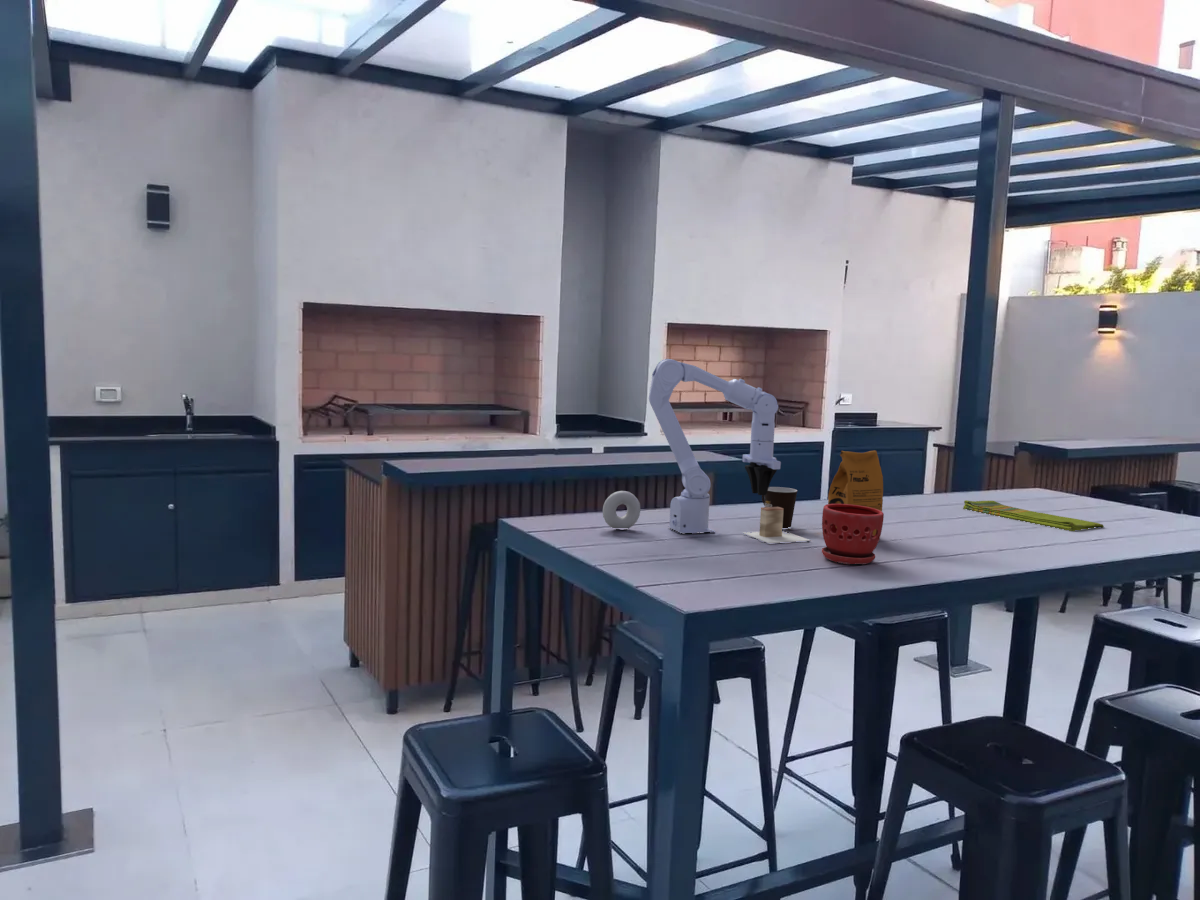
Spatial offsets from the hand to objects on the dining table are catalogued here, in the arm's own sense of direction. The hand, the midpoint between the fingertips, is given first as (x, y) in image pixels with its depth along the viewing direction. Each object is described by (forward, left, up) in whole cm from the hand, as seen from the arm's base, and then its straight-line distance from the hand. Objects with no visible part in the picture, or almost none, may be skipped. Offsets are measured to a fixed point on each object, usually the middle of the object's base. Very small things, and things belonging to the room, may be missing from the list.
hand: (759, 494), depth 232 cm
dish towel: (+92, -1, -11) cm, 93 cm away
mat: (+1, -7, -10) cm, 12 cm away
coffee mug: (+10, +6, -10) cm, 15 cm away
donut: (-33, +11, -10) cm, 36 cm away
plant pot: (+4, -32, -10) cm, 34 cm away
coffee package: (+21, -11, -10) cm, 26 cm away
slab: (0, -6, -10) cm, 11 cm away
